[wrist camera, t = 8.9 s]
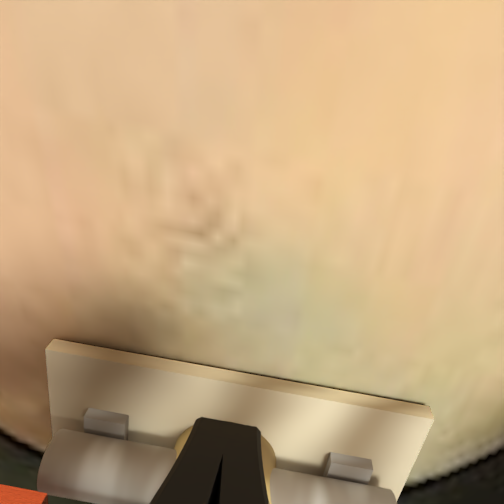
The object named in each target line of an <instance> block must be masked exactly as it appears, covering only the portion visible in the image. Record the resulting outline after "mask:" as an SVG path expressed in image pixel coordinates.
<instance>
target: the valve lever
mask: <svg viewBox="0 0 504 504" xmlns="http://www.w3.org/2000/svg"><path fill="white" fill-rule="evenodd" d="M0 504H48V496H47V493H43V492H38V491H33V490H27V489H22V488H17V487H12V486H7V485H1V484H0Z"/></svg>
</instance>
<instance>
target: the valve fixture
mask: <svg viewBox="0 0 504 504" xmlns="http://www.w3.org/2000/svg"><path fill="white" fill-rule="evenodd" d="M45 355H46V367H47V379H48V391H49V403H50V415H51V427H52V439H51V441H50V442H49V444H48V446H47V448H46V450H45V453H44V455H43V458H42V461H41V464H40V468H39V472H38V477H37V489H38V492H43V493H47V495H53V496H58V497H63V498H69V499H74V500H79V501H85V502H90V503H95V504H149V503H150V502H151V500H152V499H153V497H154V495H155V494H156V492H157V491H158V489H159V488H160V486H161V484H162V483H163V481H164V480H165V478H166V477H167V475H168V473H169V472H170V470H171V468H172V466H173V465H174V463H175V461H176V460H177V458H178V456H179V454H180V452H181V450H182V449H183V447H184V445H185V443H186V441H187V439H188V437H189V435H190V432H191V430H192V428H193V425H194V423H195V420H196V419H198V418H200V417H205V418H211V419H216V420H222V421H227V422H233V423H238V424H244V425H249V426H255V427H257V428H258V429H259V430H260V431H261V451H262V461H263V469H264V476H265V483H266V489H267V495H268V500H269V504H397V500H398V498H399V496H400V493H401V491H402V489H403V487H404V485H405V482H406V480H407V478H408V476H409V474H410V471H411V469H412V467H413V465H414V463H415V460H416V458H417V456H418V454H419V452H420V449H421V447H422V445H423V443H424V441H425V439H426V436H427V434H428V432H429V430H430V428H431V425H432V423H433V421H434V418H433V415H432V412H431V409H430V406H425V405H420V404H414V403H409V402H403V401H397V400H392V399H386V398H381V397H375V396H370V395H364V394H359V393H353V392H347V391H342V390H336V389H331V388H325V387H320V386H314V385H309V384H303V383H297V382H292V381H286V380H281V379H275V378H270V377H264V376H259V375H253V374H247V373H242V372H236V371H231V370H225V369H220V368H214V367H209V366H203V365H197V364H192V363H186V362H181V361H175V360H170V359H164V358H158V357H153V356H147V355H142V354H136V353H131V352H125V351H120V350H114V349H108V348H103V347H97V346H92V345H86V344H81V343H75V342H70V341H64V340H58V339H53V340H52V341H51V343H50V344H49V345H48V346H47V347H46V349H45Z"/></svg>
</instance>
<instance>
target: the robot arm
mask: <svg viewBox="0 0 504 504" xmlns="http://www.w3.org/2000/svg"><path fill="white" fill-rule="evenodd" d="M149 504H269V500H268V495H267V489H266V483H265V476H264V469H263V461H262V451H261V431H260V430H259V429H258V428H257V427H255V426H249V425H244V424H238V423H233V422H227V421H222V420H216V419H211V418H205V417H200V418H198V419H196V420H195V423H194V425H193V428H192V430H191V432H190V435H189V437H188V439H187V441H186V443H185V445H184V447H183V449H182V450H181V452H180V454H179V456H178V458H177V460H176V461H175V463H174V465H173V466H172V468H171V470H170V472H169V473H168V475H167V477H166V478H165V480H164V481H163V483H162V484H161V486H160V488H159V489H158V491H157V492H156V494H155V495H154V497H153V499H152V500H151V502H150V503H149Z"/></svg>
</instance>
